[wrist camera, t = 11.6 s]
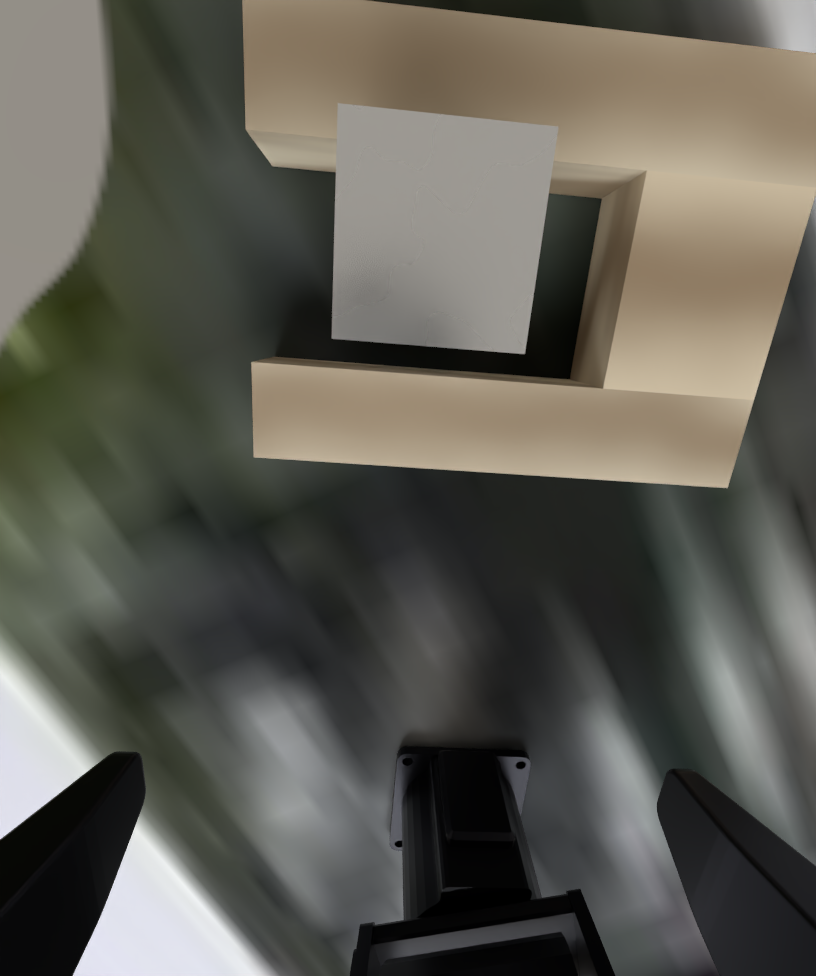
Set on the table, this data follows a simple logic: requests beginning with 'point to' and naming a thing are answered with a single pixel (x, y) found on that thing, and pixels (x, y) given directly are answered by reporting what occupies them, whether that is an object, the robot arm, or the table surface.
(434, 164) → the grey peg
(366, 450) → the notched board
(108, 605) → the table surface
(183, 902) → the table surface
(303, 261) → the table surface
